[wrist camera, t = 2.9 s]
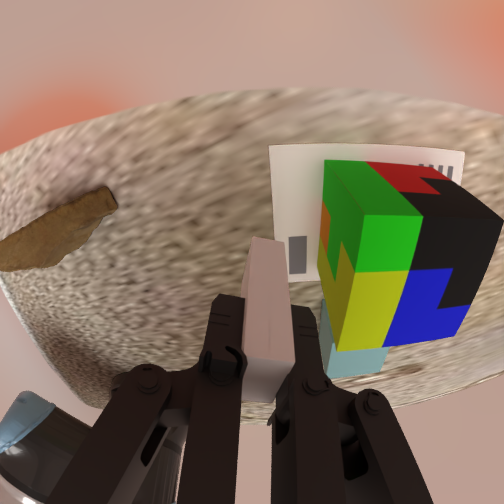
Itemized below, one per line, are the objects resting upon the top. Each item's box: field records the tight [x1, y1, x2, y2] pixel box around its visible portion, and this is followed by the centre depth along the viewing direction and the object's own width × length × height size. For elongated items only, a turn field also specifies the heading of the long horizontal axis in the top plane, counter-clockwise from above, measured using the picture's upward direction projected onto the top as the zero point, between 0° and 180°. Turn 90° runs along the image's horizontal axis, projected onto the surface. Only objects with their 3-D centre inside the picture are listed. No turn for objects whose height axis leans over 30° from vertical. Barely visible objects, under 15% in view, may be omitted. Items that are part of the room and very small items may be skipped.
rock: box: [0, 187, 117, 272], centre depth 22 cm, size 11×9×10 cm
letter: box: [269, 143, 465, 282], centre depth 24 cm, size 18×13×1 cm
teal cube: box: [319, 299, 390, 379], centre depth 28 cm, size 6×6×6 cm
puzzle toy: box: [317, 159, 504, 352], centre depth 19 cm, size 10×10×10 cm
